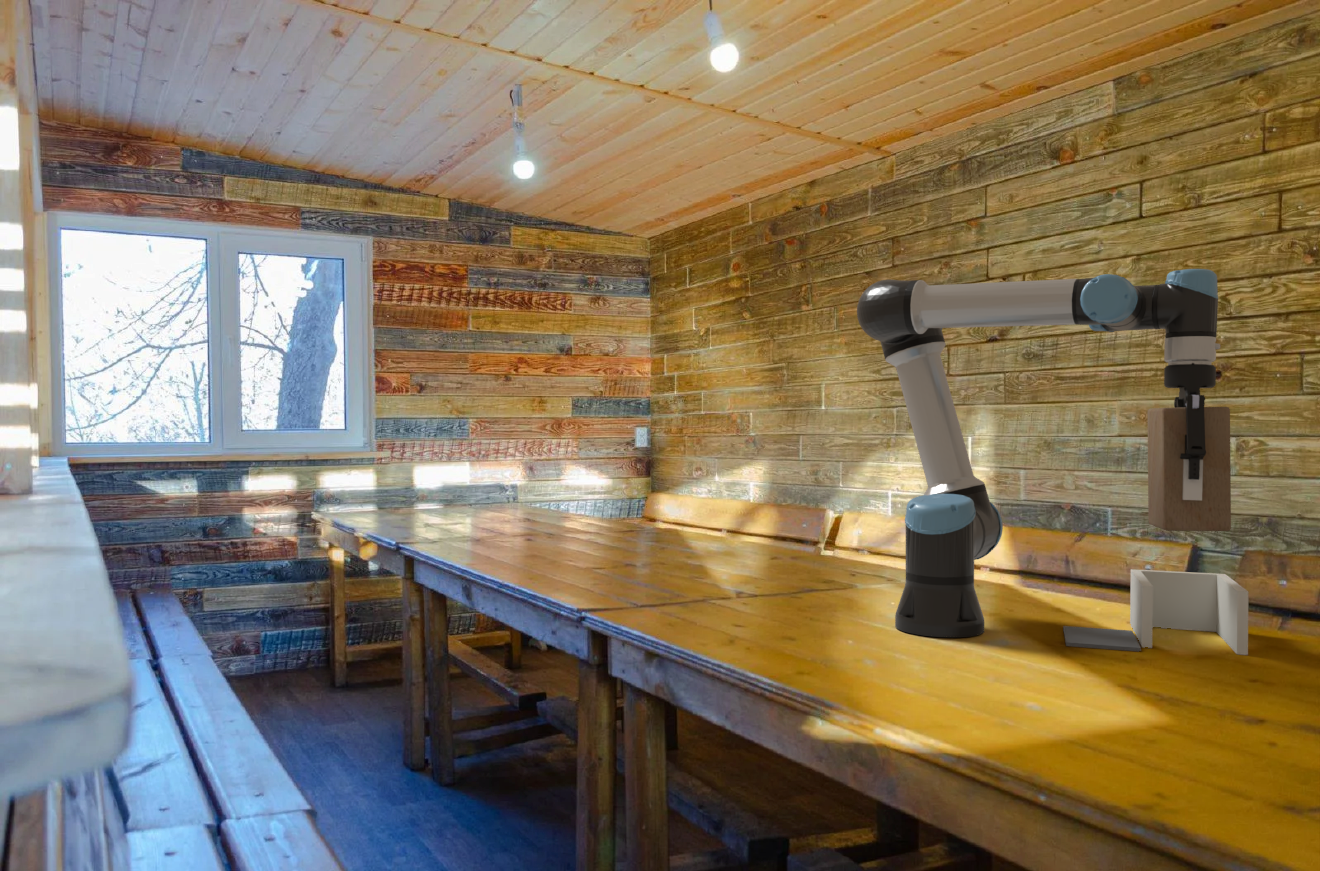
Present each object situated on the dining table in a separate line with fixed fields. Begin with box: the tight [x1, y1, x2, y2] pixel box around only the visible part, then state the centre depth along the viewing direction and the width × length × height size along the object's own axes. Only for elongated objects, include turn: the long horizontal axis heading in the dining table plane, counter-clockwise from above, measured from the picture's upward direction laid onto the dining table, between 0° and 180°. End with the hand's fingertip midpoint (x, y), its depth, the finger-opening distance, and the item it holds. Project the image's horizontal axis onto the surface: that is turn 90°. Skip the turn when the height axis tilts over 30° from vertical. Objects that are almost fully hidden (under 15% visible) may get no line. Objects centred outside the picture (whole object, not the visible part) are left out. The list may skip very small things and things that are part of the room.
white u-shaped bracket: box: [1129, 568, 1249, 656], centre depth 166 cm, size 15×20×10 cm
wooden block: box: [1147, 406, 1232, 532], centre depth 162 cm, size 10×10×20 cm
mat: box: [1062, 625, 1142, 652], centre depth 164 cm, size 11×14×1 cm
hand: (1186, 497), depth 162 cm, fingers closed on wooden block, 10 cm apart
